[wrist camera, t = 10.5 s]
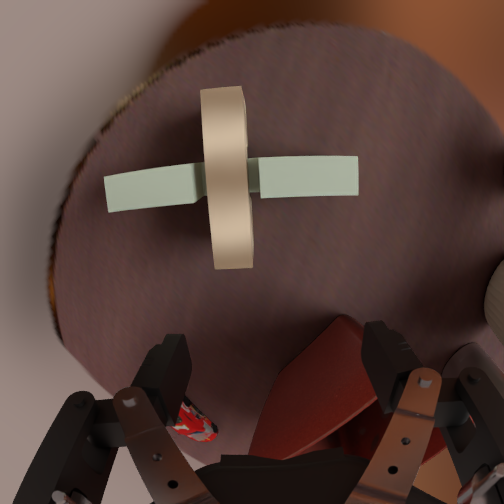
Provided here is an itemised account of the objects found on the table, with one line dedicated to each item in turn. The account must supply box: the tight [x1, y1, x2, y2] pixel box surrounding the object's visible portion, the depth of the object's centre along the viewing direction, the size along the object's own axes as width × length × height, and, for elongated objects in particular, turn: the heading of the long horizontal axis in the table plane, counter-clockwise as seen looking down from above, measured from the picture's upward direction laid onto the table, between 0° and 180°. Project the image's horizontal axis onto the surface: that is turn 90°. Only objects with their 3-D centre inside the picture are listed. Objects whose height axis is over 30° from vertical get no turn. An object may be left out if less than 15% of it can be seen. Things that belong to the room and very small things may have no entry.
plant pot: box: [248, 315, 474, 466], centre depth 28 cm, size 19×19×17 cm
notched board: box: [104, 156, 358, 212], centre depth 24 cm, size 20×3×8 cm, turn 94°
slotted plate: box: [200, 86, 254, 269], centre depth 24 cm, size 14×3×8 cm, turn 3°
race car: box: [171, 395, 218, 442], centre depth 38 cm, size 13×5×4 cm, turn 27°
